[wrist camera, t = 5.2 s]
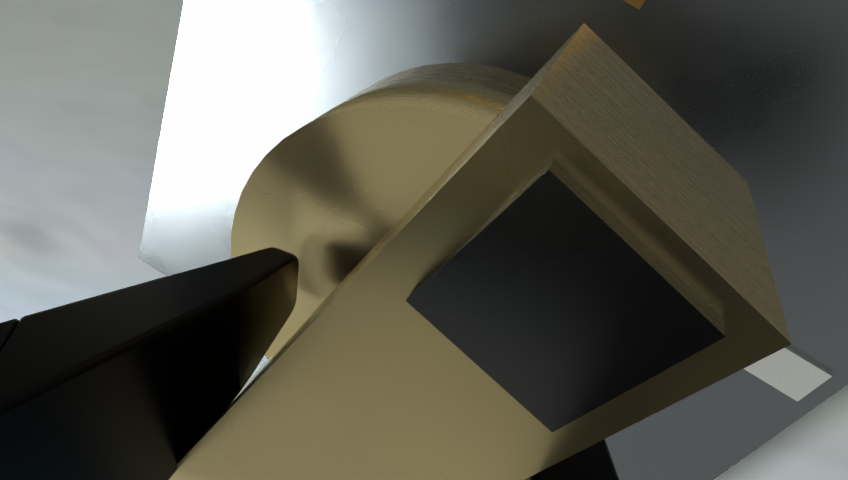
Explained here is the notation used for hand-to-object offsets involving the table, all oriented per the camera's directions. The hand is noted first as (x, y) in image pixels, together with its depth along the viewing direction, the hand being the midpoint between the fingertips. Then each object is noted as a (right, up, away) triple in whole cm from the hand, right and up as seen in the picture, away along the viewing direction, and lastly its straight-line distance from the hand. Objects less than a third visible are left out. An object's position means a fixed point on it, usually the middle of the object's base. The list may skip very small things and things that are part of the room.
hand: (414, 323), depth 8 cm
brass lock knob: (+1, +1, +2) cm, 3 cm away
